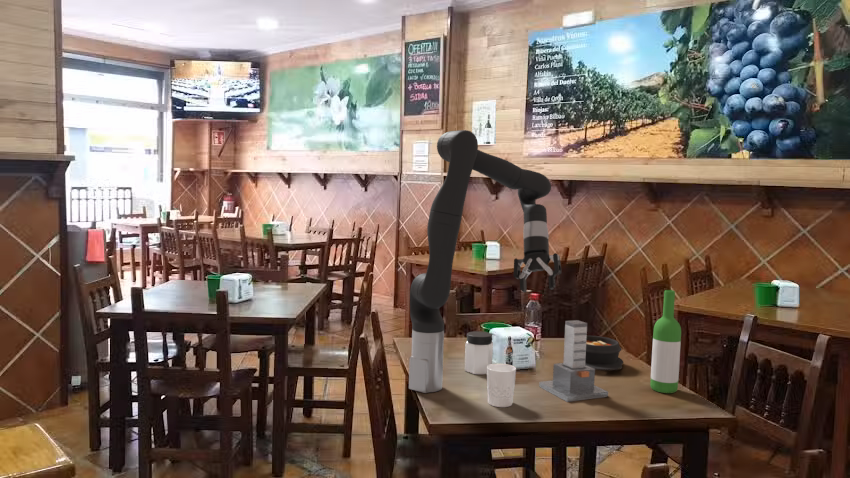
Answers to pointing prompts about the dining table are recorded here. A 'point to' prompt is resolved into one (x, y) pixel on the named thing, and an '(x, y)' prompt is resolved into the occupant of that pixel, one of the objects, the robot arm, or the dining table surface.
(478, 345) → the jar
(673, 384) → the wine bottle
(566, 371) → the stand base
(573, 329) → the column
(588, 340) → the casserole
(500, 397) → the white cup
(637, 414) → the dining table surface
